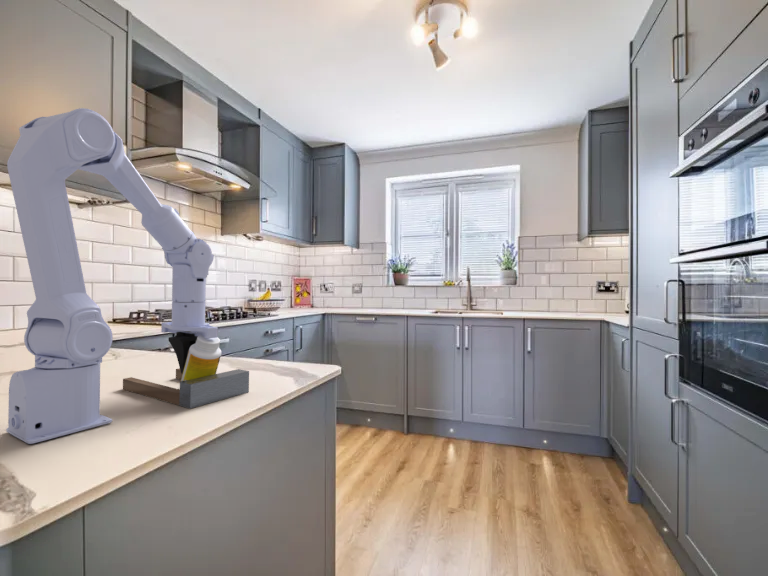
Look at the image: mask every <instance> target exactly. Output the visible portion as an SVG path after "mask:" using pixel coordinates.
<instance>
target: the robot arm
mask: <svg viewBox="0 0 768 576" xmlns="http://www.w3.org/2000/svg"><path fill="white" fill-rule="evenodd" d="M18 130H19V135H20V136H19V137H18V139H17V142H16V143H15V145H14V148H13V149H12V151H11V153H10V155H9V157H8V159H7V165H6V166H7V167H6V169H7V171H8V177H9V182H10V185H11V186H10V187H11V190H12V194H13V199H14V200H13V201H14V204H15V209H16V213H17V218H18V223H19V226H20V227H19V228H20V231H21V237H22V242H23V246H24V250H25V254H26V255H25V256H26V259H27V263H28V264H27V265H28V269H29V273H30V277H31V281H32V285H33V290H34V291H33V292H34V295H35V300H34V302H33V303H32V304H31V306H30V307H29V308H28V309H27V311H26V317H27V327H26V331H25V333H24V337H23V340H24V341H23V342H24V345H25V348H26V349H27V351H28V352H29V353H30V354H31V355H32V356H34V367H32V368H29V369H25V370H18V371H15V372H14V373H13V374H12V375H11V376H10V380H9V386H8V413H7V415H8V420H7V421H8V422H7V423H8V424H7V426H8V427H7V428H6V429H5V431H6V433H8V434H10V435H11V436H12V437H15V438H17V439H18V440H21V441H23V442H25V444H27V445H31V444H33V445H34V444H36V443H40V442H43V441H48V440H51V439H55V438H58V437H63V436H66V435H67V436H68V435H69V434H74V433H77V432H81V431H84V430H89V429H93V428H96V427H100V426H104V425H107V424H111V423H112V422H113V418H111V417H108V416H107V415H106V416H105V415H102V414H100V410H101V409H100V405H101V403H100V402H101V364H102V363H103V357H105V355H107V353H109V351H110V348H112V344H113V339H114V338H113V337H114V336H113V331H112V329H111V327H110V325H109V324H108V323H107V322H106V321H105V320H104V318H103V317H104V316H103V315H102V310H101V308H100V306H99V305H98V303H96V302H95V301H94V300H93V299H92V298H91V297H90V296H89V294H88V293H87V290H86V285H85V284H86V283H85V279H84V274H83V273H84V272H83V269H82V264H81V259H80V253H79V249H78V243H77V238H76V233H75V228H74V223H73V217H72V211H71V207H70V201H69V197H68V191H67V186H66V179H68V178H69V177H70V176H72V175H73V174H74V173H75V172H77V170H80V171H84V172H88V173H92V174H95V175H99V176H103V177H104V178H105V179H106V180H107V181H108V182H109V183H110V184H111V185H112V186H113V187H114V188H115V189H116V190H117V191H118V192H119V193H120V194H121V195H123V197H124V198H125V199H126V200H127V201H128V202H129V203H130V204H131V205H132V206H133V207H134V208H135V209H136V210H137V211H138V212H139V213H140V214H141V220H140V221H141V222H140V223H141V226H142V227H143V228H144V229H145V230H146V231H147V232H148V233H149V234H150V236H151V237H152V238H153V239H154V240H155V241H156V242H157V243H158V244H159V245H160V247H161V249H162V251H163V252H164V259H165V262H166V263H167V264H168V265H169V266H171V267H172V279H171V281H172V283H171V284H172V285H171V288H172V289H171V321H166V322H161V326H160V327H161V328H160V329H161V330H160V331H161V333H170V334H171V333H172V334H176V335H175V336H169V337H168V342H169V343H170V345H171V347H172V349H173V351H174V353H175V355H176V358H177V362H178V366H179V368H180V370H181V373H182V374H183V371H184V367H185V363H186V359H187V356H188V352H189V348H190V346H191V345H193V344H195V343H196V341H197V337H198V336H199V335H202V336H204V337H205V338H207V339H210V338H217V337H218V329H219V327H218V326H213V325H211V324H210V323H207V322H206V299H207V298H206V292H207V291H206V288H207V285H206V284H207V283H206V282H207V278H208V276H209V270H210V266H212V263H213V261H214V258H215V257H214V256H215V255H214V254H213V253H212V249H211V246H210V245H209V244H208V243H207V242H206V241H205V240H203V239H201V238H197V236H196V235H195V233H194V231H192V230H191V229H190V228H189V226H188V225H187V224H186V222H185V221H184V220H183V219H182V217H181V216H180V212H179V211H178V210H177V209H176V208H174V207H173V206H171V205H169V204H162V203H161V201H159V200H158V198H157V196H156V195H155V194H154V192H153V191H152V190H151V188H150V187H149V185H148V184H147V183H146V181H145V180H144V178H143V177H142V176H141V174H140V173H139V171H138V170H137V168H136V167H135V165H134V164H133V163H132V162H131V161H130V159H129V157H128V156H127V154H126V153H125V148H124V143H123V139H122V138H121V137H120V136H119V134H118V133H116V131H114V129H113V127H112V125H111V124H110V123H109V121H108V120H107V118H105V117H104V116H103V115H101V113H99V112H96V111H95V110H92V109H89V108H83V107H81V108H80V107H79V108H75V109H73V110H71V111H67V112H62V113H58V114H53V115H49V116H39V117H36V118H34V119H32V120H30V121H28V122H27V123H25V124H23V125H22V126H20V127H19V128H18ZM218 338H219V337H218Z"/></svg>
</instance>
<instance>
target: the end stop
mask: <svg viewBox="0 0 768 576" xmlns="http://www.w3.org/2000/svg"><path fill="white" fill-rule="evenodd" d="M179 390H180V397H179V405H178V406H179V407H183V408H186V409H194V408H196V407H197V408H198V407H201V406H204V405H208V404H211V403H215V402H219V401H222V400H226V399H229V398H232V397H237V396H239V395H242V394H246V393H249V392H250V371H249V370H246V369H239V368H238V369H237V368H236V369H233V370H228V371H223V372H218V373H216V374H214V375H209V376H204V377H200V378H195V379H191V380H186V381H181V380H180V381H179Z"/></svg>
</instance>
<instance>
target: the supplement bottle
mask: <svg viewBox="0 0 768 576" xmlns="http://www.w3.org/2000/svg"><path fill="white" fill-rule="evenodd" d="M220 344H221V339H220V338H219V337H217V338H210V339H207V338H205V337H204V336H202V335H199V336H198V337H197V341H196V343H195V344H193V345H191V346H190V348H189V352H188V356H187V359H186V363H185V367H184V371H183V374H182V378H181V379H180V382H181V381H186V380H191V379H195V378H200V377H204V376H209V375H214V374H217V371H218V368H219V365H220V364H219V363H220V361H221V357H222V350H221V348H220Z"/></svg>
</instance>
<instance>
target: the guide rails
mask: <svg viewBox="0 0 768 576" xmlns="http://www.w3.org/2000/svg"><path fill="white" fill-rule="evenodd" d="M181 378H182V373H181V370H180V367H179V368H176V369H175V379H178V380H181ZM122 390H125V391H128V392H131V393H135V394H139V395H141V396H145V397H148V398H151V399H156V400H158V401H162V402H166V403H168V404H169V403H170V404H173V405H176V406H179V397H180V388H175V387H171V386H168V385H162V384H159V383H155V382H151V381H148V380H143V379H139V378H136V377H133V376H130V377H124V378H122Z"/></svg>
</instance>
